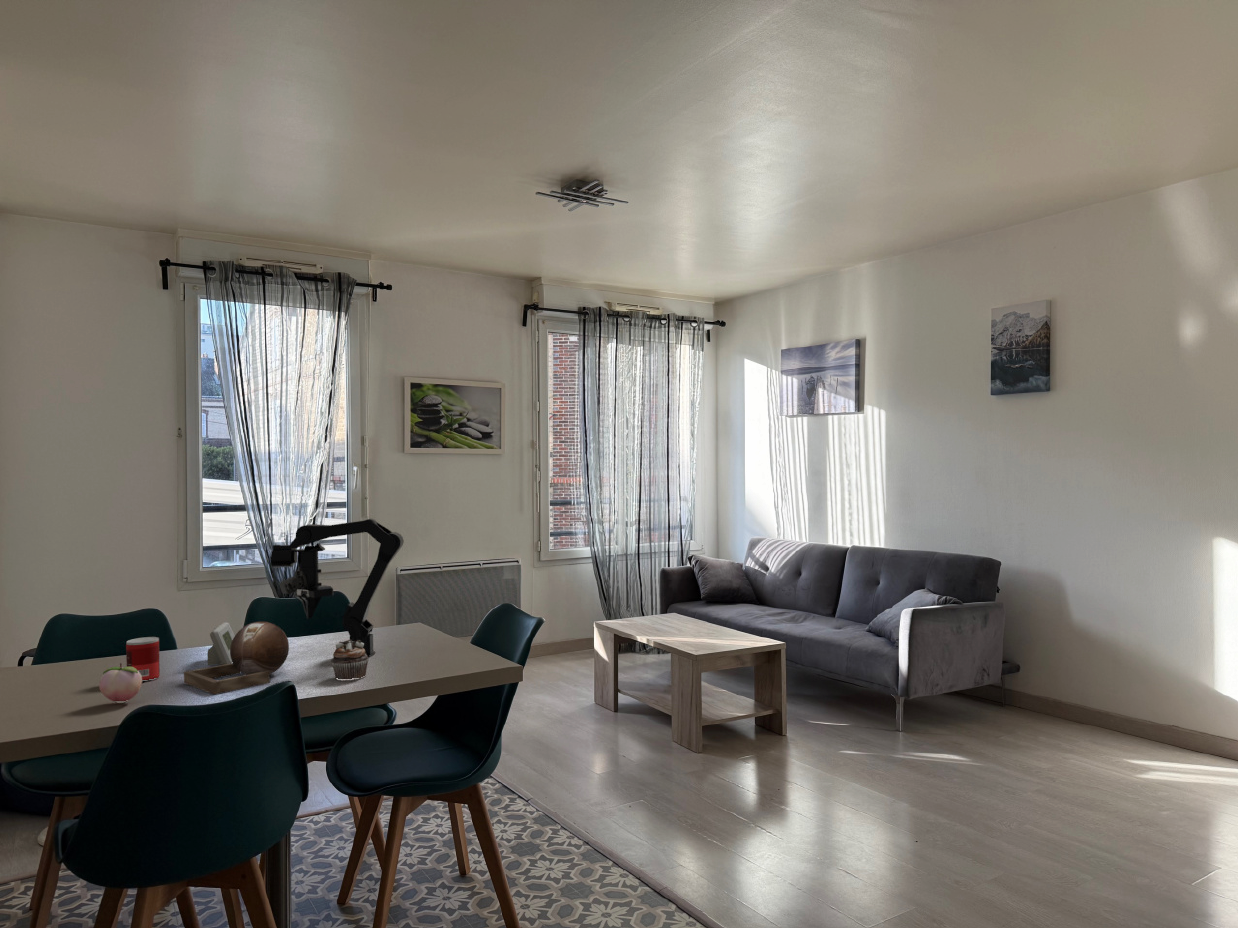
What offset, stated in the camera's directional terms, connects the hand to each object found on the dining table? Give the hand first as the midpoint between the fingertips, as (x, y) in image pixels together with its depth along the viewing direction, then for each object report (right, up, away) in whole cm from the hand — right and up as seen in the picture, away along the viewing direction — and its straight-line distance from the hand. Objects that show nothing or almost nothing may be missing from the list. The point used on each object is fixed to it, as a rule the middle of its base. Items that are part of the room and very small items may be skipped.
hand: (309, 618), depth 259 cm
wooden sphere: (-6, -12, -22) cm, 26 cm away
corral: (-12, -12, -29) cm, 33 cm away
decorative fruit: (-29, -13, -47) cm, 57 cm away
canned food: (-37, -13, -23) cm, 46 cm away
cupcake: (+20, -12, -26) cm, 35 cm away
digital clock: (-25, -13, -1) cm, 28 cm away
